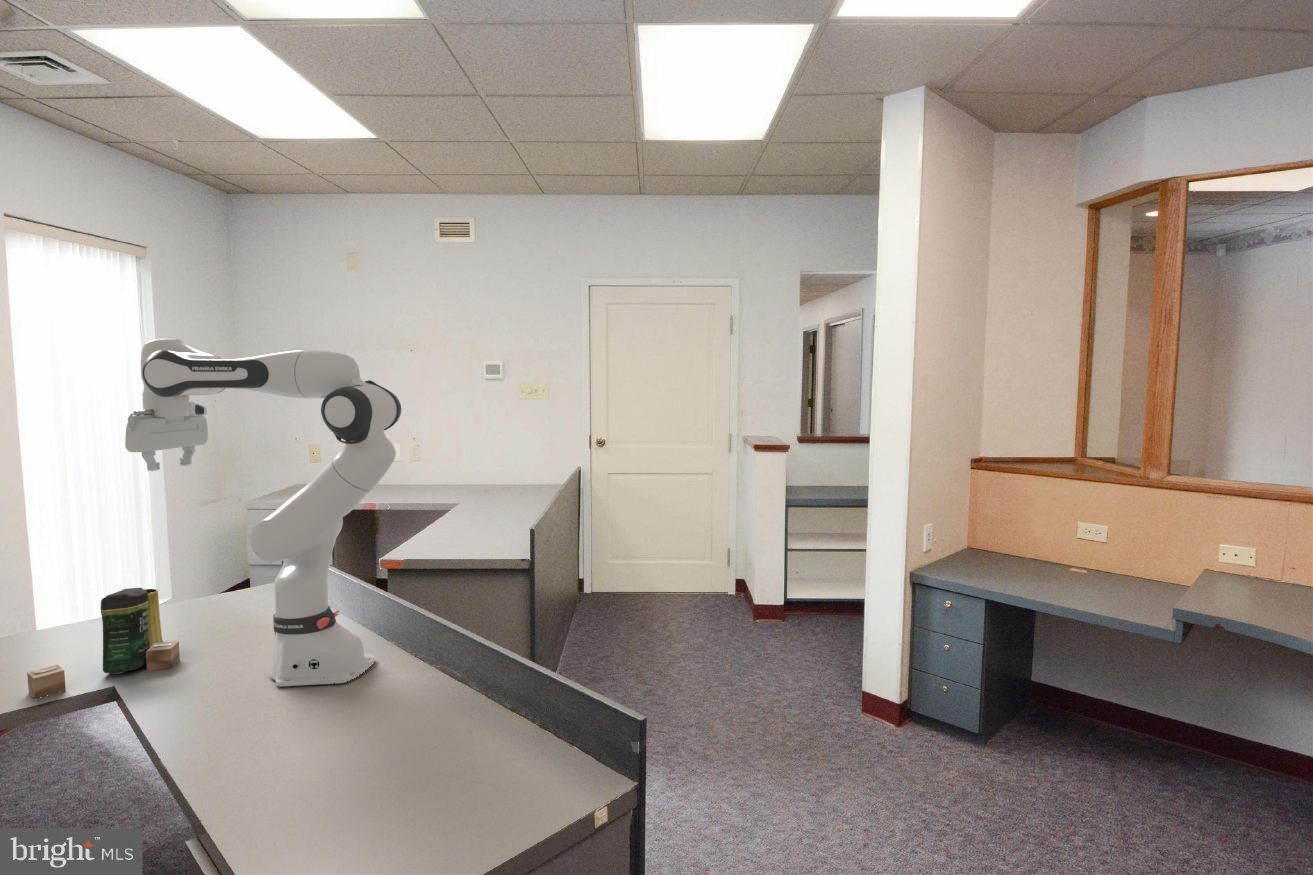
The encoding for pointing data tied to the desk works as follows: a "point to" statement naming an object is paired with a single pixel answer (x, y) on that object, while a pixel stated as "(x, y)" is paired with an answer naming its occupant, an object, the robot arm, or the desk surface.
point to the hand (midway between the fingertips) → (170, 467)
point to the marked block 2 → (162, 656)
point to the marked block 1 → (46, 681)
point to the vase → (154, 617)
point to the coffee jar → (125, 630)
